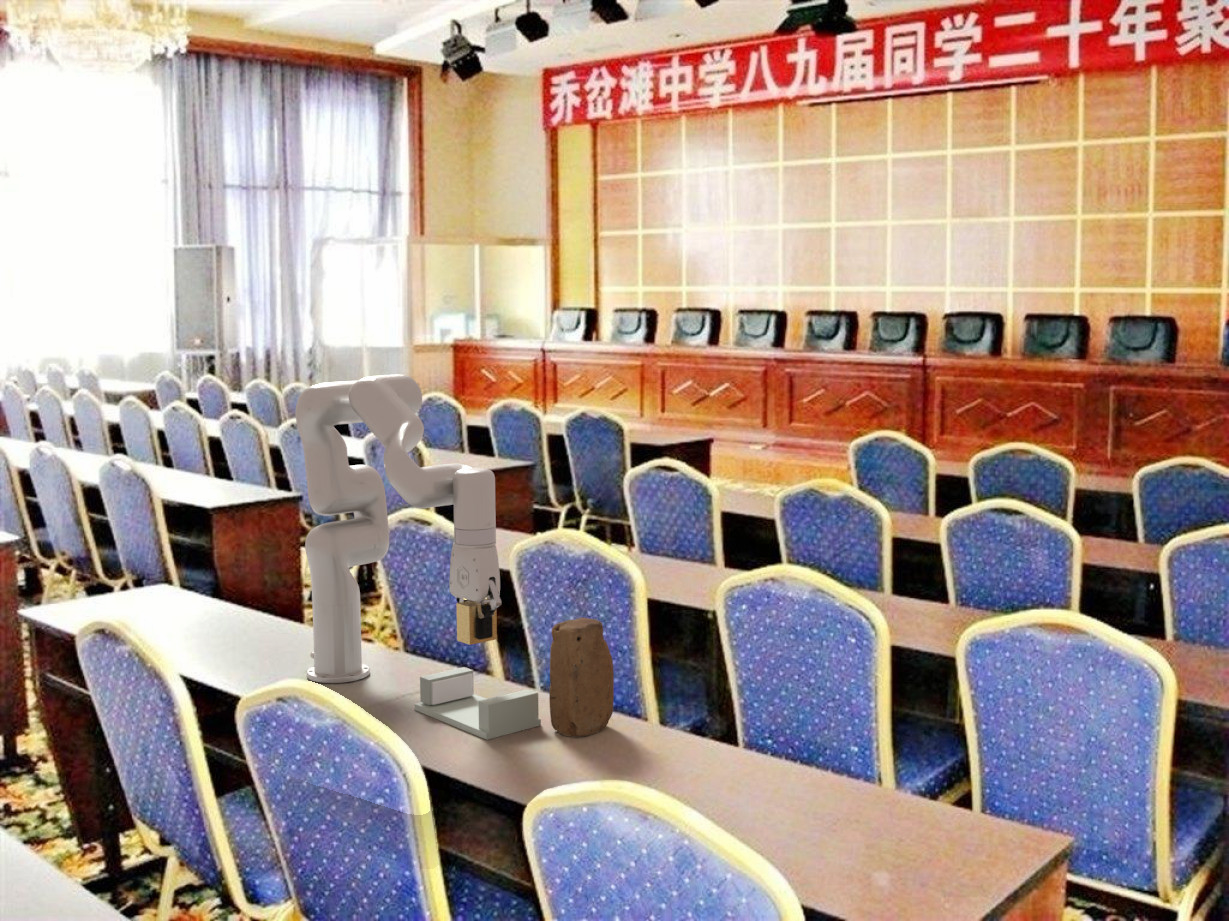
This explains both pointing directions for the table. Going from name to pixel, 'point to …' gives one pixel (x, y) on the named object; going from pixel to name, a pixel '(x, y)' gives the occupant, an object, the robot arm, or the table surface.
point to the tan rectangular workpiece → (471, 623)
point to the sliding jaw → (446, 686)
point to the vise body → (488, 713)
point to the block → (580, 678)
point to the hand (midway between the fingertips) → (476, 634)
